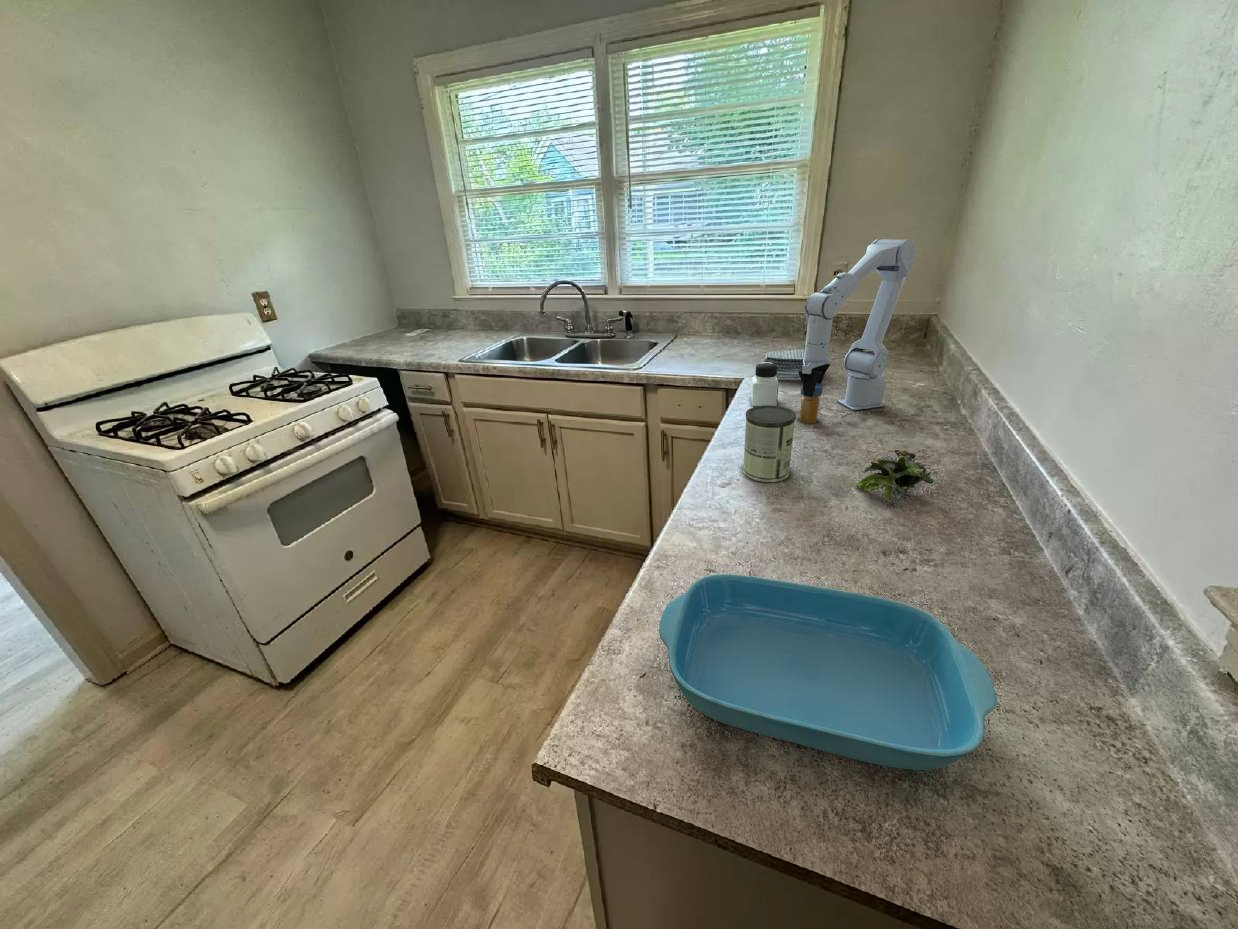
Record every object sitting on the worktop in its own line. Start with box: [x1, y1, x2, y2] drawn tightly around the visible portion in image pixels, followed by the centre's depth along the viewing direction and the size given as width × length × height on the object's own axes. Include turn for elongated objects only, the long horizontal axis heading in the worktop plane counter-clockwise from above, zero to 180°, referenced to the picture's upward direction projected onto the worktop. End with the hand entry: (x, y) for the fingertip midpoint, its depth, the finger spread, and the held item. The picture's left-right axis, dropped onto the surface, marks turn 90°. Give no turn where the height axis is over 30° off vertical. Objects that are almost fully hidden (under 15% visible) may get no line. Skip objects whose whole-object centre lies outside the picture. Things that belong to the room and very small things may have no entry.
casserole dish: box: [658, 573, 998, 771], centre depth 60 cm, size 37×22×7 cm, turn 72°
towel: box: [761, 348, 805, 382], centre depth 171 cm, size 15×18×8 cm
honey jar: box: [798, 395, 821, 424], centre depth 134 cm, size 5×5×9 cm
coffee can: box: [742, 405, 797, 483], centre depth 108 cm, size 10×10×14 cm
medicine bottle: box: [750, 361, 779, 407], centre depth 147 cm, size 7×7×12 cm
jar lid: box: [800, 383, 824, 398], centre depth 132 cm, size 5×5×2 cm
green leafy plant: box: [856, 449, 935, 506], centre depth 98 cm, size 11×11×12 cm
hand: (811, 392), depth 132 cm, fingers closed on jar lid, 5 cm apart
